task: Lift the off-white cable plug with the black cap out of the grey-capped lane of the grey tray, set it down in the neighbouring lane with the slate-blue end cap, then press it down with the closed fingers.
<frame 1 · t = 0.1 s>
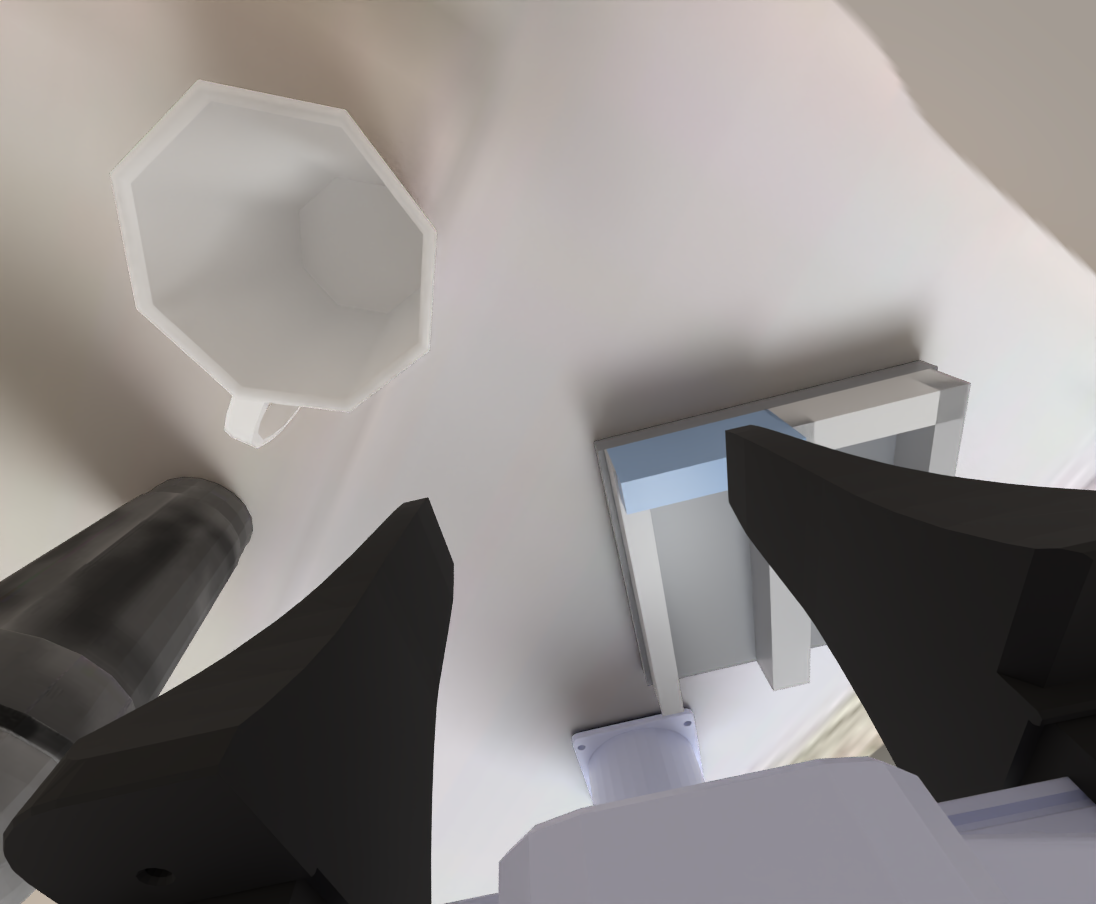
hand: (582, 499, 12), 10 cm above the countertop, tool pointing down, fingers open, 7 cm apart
grey tray: (760, 539, 25), on the countertop
beverage cup: (203, 517, 23), on the countertop
cup: (358, 282, 19), on the countertop
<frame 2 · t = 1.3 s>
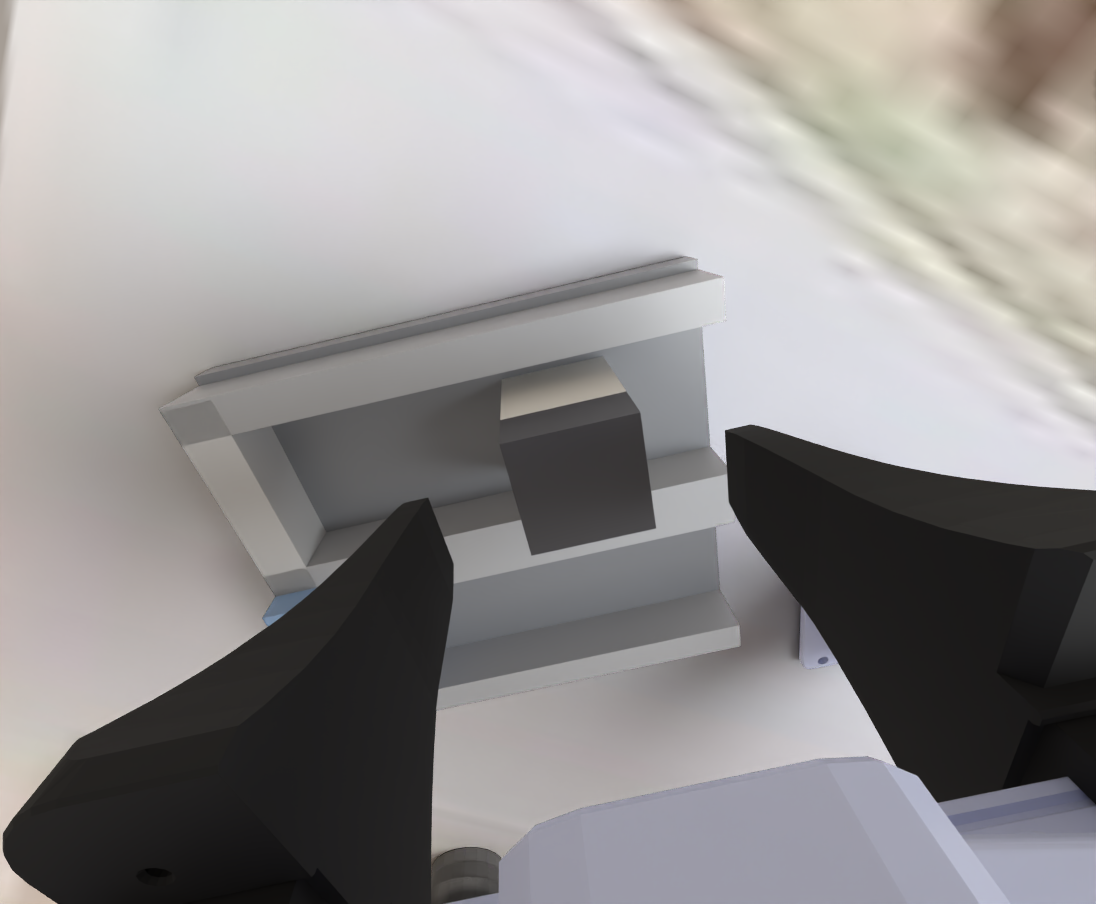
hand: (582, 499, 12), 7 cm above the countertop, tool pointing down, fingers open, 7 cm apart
grey tray: (503, 502, 19), on the countertop
beverage cup: (468, 862, 31), on the countertop
plug: (562, 414, 17), point 1 cm above the countertop, touching grey tray
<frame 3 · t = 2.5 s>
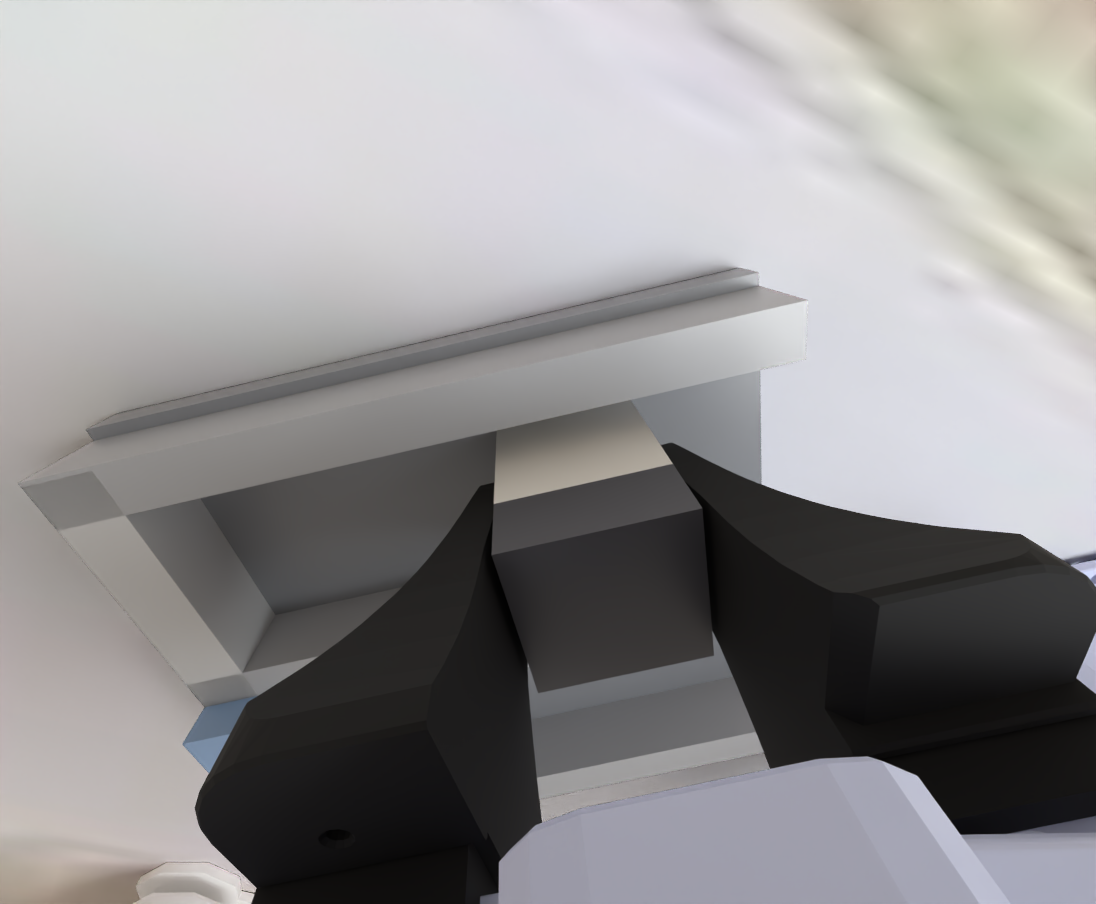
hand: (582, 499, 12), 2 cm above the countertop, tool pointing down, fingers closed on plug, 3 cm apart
grey tray: (499, 570, 15), on the countertop
plug: (575, 471, 13), point 1 cm above the countertop, touching grey tray, gripper
cup: (229, 886, 23), on the countertop
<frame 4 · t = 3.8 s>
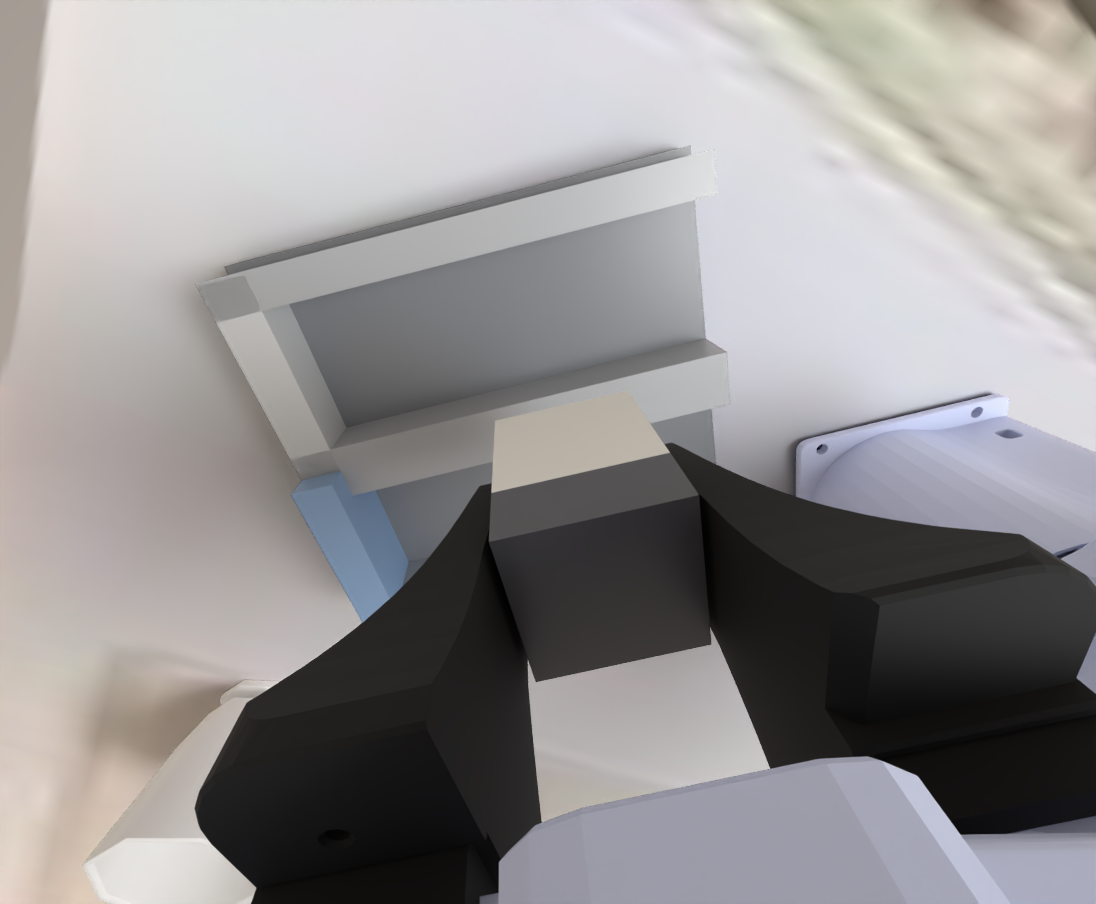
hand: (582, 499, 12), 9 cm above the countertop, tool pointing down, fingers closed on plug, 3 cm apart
grey tray: (511, 402, 20), on the countertop
plug: (573, 463, 13), point 8 cm above the countertop, touching gripper
cup: (292, 709, 28), on the countertop
when the fingers open (3 cm above the countertop, at t = 5.6 s): plug stays where it is, resting on grey tray.
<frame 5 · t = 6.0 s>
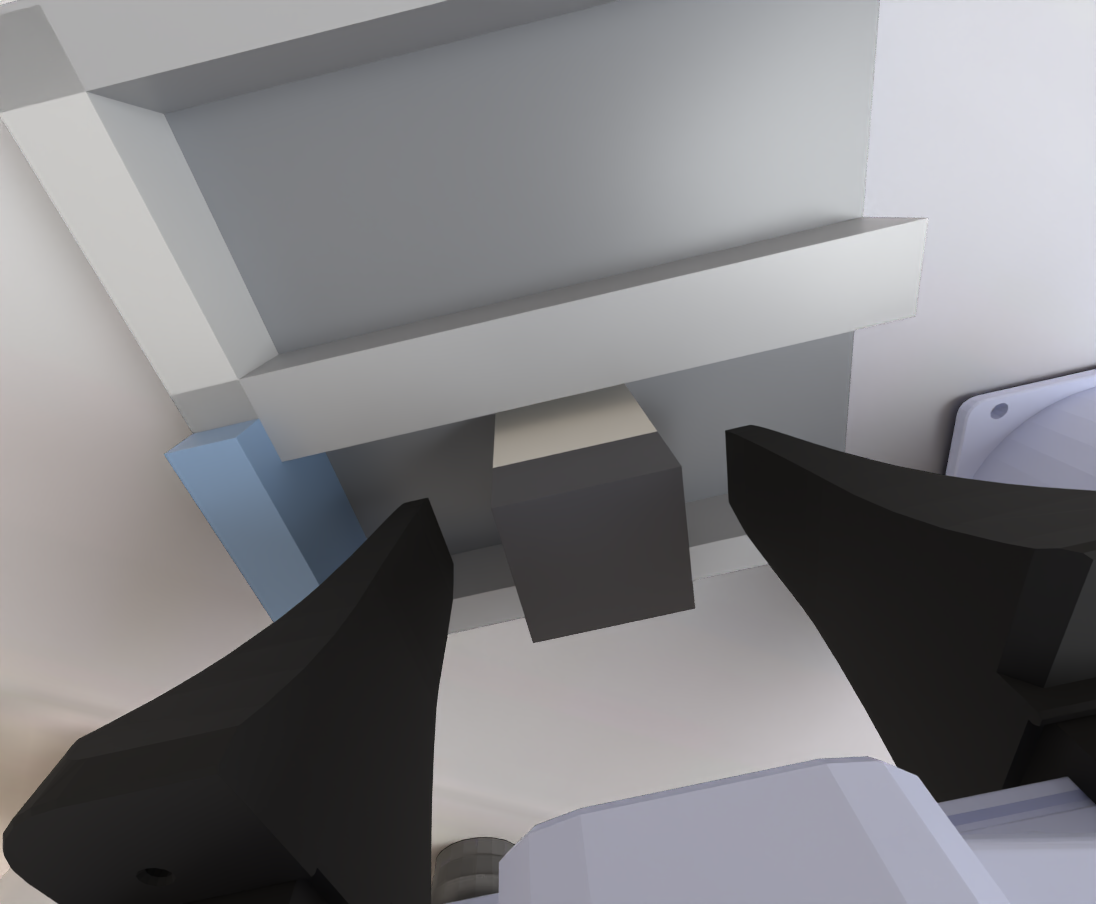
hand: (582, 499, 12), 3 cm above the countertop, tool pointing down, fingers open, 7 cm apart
grey tray: (542, 325, 13), on the countertop
beverage cup: (480, 856, 25), on the countertop
plug: (569, 447, 14), point 1 cm above the countertop, touching grey tray
cup: (225, 766, 20), on the countertop
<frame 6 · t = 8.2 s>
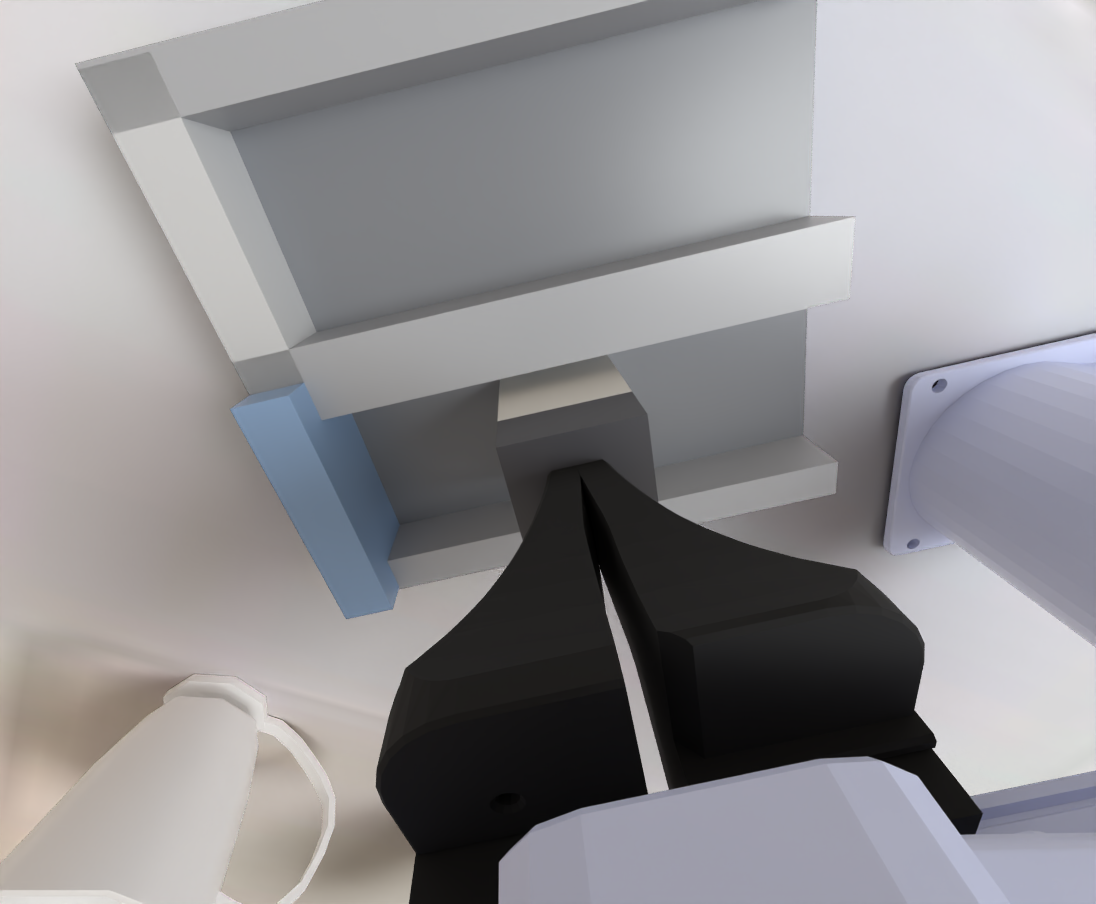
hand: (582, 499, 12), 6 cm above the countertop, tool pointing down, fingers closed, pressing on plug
grey tray: (539, 309, 15), on the countertop
plug: (563, 415, 16), point 1 cm above the countertop, touching grey tray, gripper
cup: (254, 711, 23), on the countertop
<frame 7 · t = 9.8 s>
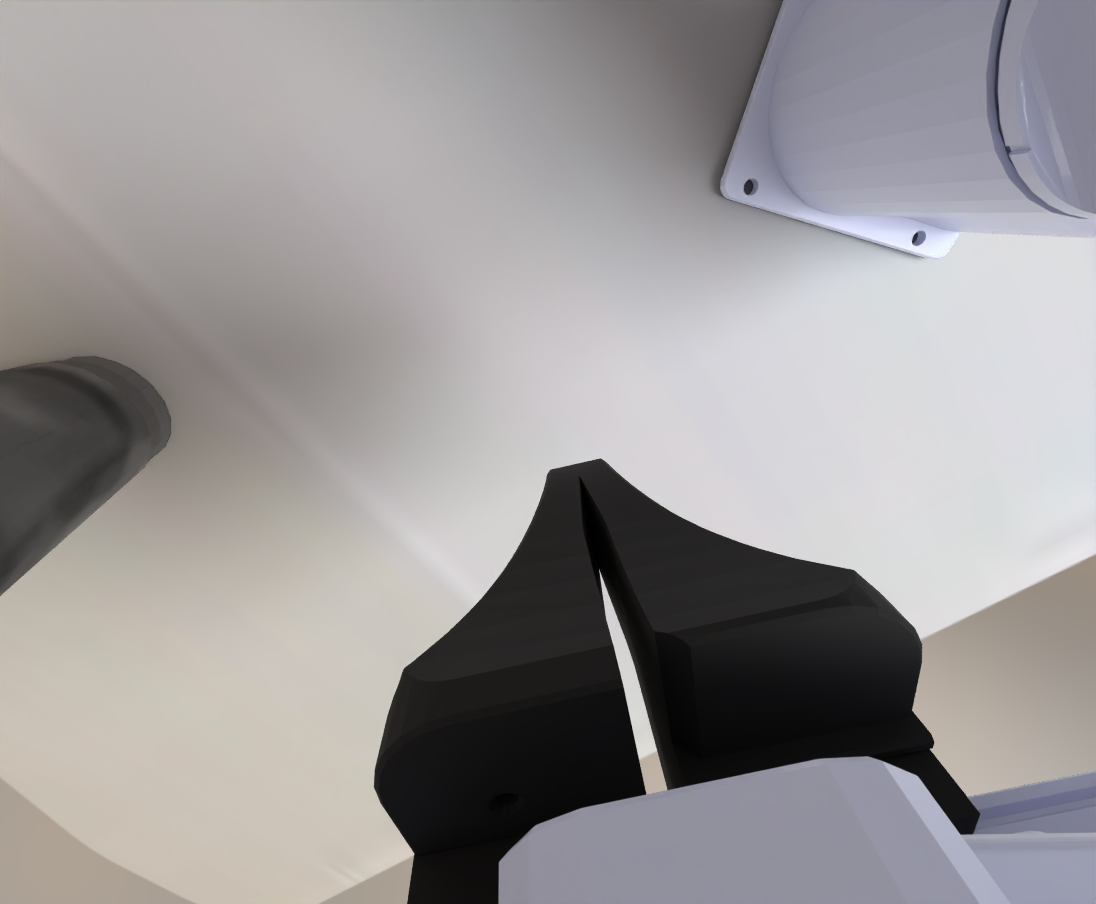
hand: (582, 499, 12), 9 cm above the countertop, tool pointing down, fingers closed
beverage cup: (112, 409, 19), on the countertop
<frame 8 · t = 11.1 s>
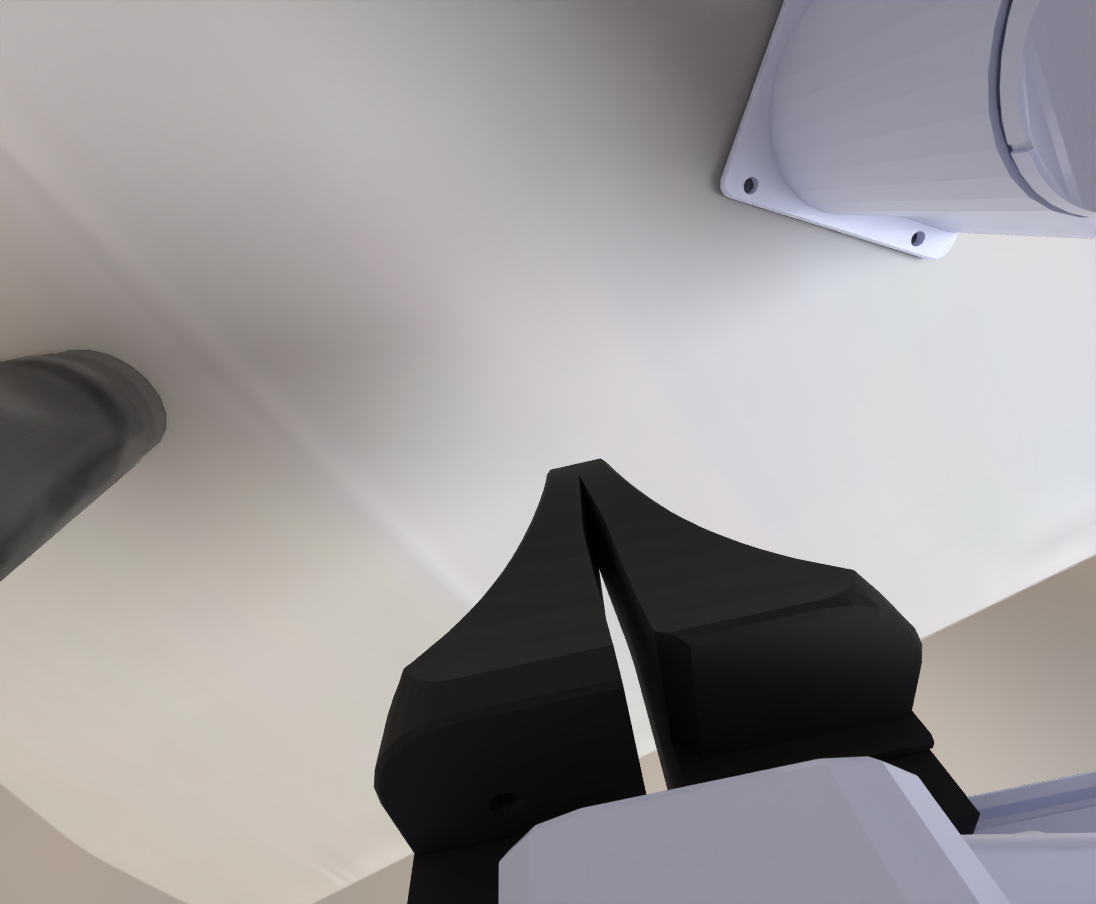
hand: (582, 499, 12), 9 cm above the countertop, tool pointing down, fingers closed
beverage cup: (107, 404, 19), on the countertop
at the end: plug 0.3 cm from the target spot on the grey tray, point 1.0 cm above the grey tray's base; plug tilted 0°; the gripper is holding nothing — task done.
